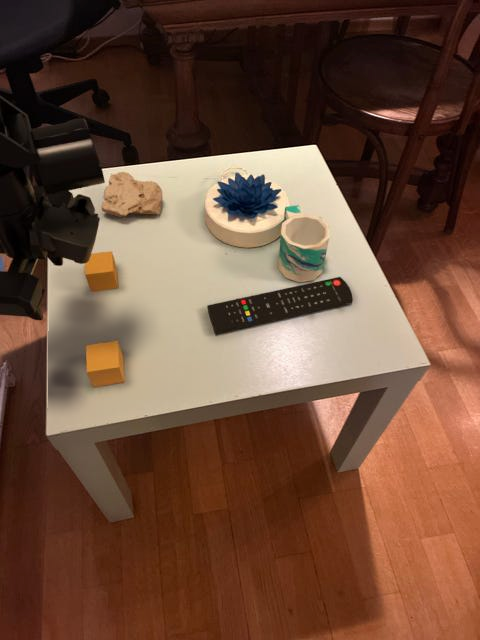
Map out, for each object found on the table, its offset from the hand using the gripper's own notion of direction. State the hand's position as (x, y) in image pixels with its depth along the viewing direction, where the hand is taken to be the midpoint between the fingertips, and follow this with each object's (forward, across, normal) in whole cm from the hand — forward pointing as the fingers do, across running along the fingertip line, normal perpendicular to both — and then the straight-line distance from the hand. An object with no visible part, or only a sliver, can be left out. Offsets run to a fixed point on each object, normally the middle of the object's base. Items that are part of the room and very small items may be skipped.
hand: (49, 290), depth 64 cm
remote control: (+14, +10, -32) cm, 36 cm away
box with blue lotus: (+14, +33, -24) cm, 43 cm away
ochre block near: (+14, -4, -6) cm, 16 cm away
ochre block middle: (+14, +14, -2) cm, 19 cm away
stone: (+14, +33, -3) cm, 36 cm away
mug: (+14, +22, -35) cm, 43 cm away
